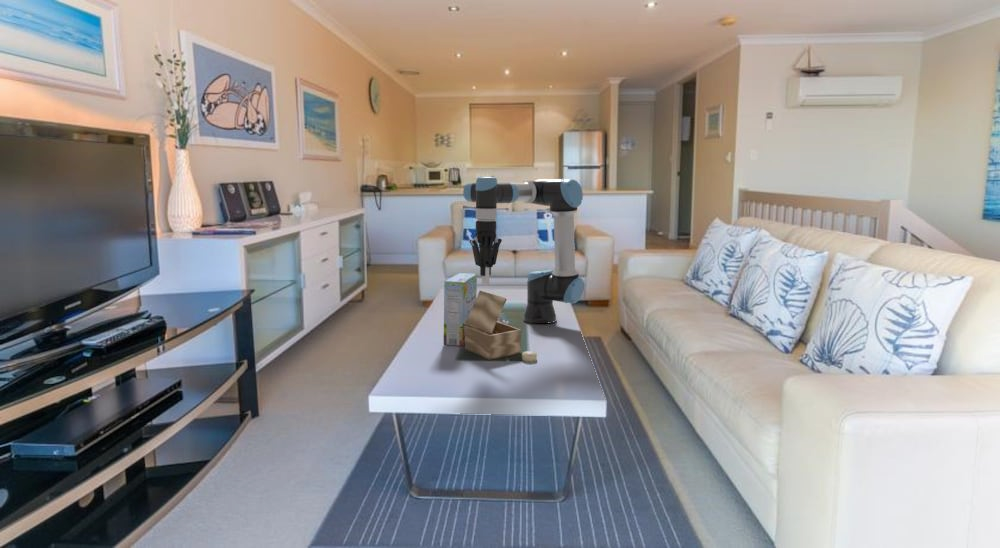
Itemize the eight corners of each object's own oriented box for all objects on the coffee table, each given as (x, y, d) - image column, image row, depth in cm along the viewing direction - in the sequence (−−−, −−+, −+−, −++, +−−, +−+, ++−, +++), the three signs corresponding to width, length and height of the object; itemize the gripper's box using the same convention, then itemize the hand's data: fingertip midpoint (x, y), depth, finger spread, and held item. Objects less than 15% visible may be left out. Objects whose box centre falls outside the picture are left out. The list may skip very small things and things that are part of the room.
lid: (490, 335, 204) (489, 334, 203) (465, 325, 217) (464, 325, 217) (507, 298, 206) (505, 298, 205) (481, 291, 219) (479, 290, 219)
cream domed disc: (530, 356, 210) (530, 350, 209) (539, 360, 205) (539, 353, 205) (519, 359, 207) (519, 352, 206) (528, 362, 202) (528, 356, 202)
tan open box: (496, 342, 226) (496, 321, 225) (520, 352, 214) (521, 329, 212) (465, 349, 218) (465, 326, 216) (489, 360, 205) (489, 335, 204)
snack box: (464, 347, 221) (464, 282, 216) (442, 345, 222) (442, 281, 218) (477, 332, 242) (477, 272, 237) (457, 331, 243) (457, 272, 239)
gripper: (494, 219, 212) (493, 281, 216) (465, 220, 205) (465, 284, 209) (506, 220, 206) (505, 284, 210) (476, 221, 199) (476, 287, 203)
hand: (485, 284), depth 209 cm, fingers closed
